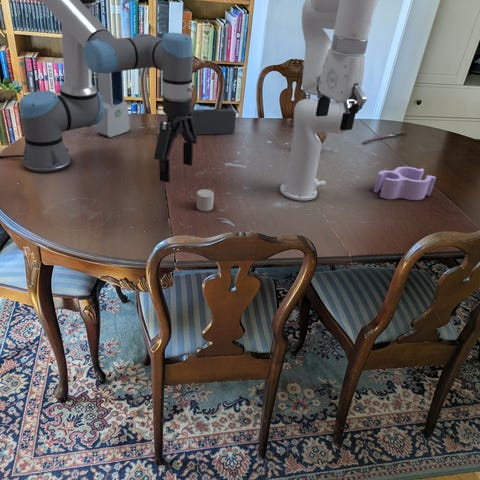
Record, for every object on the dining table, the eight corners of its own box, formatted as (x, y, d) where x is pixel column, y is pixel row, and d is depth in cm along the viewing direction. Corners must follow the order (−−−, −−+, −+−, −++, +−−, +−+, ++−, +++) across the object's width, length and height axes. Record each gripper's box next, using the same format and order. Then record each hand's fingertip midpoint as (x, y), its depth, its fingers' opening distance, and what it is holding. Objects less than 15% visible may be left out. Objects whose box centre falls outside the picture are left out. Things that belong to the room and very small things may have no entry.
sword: (401, 132, 223) (402, 129, 222) (407, 134, 221) (407, 131, 220) (358, 143, 207) (358, 140, 206) (363, 145, 205) (364, 143, 204)
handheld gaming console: (232, 131, 203) (234, 108, 197) (234, 133, 201) (236, 110, 195) (181, 132, 196) (181, 109, 190) (182, 135, 194) (183, 111, 188)
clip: (387, 202, 158) (392, 184, 155) (367, 186, 168) (372, 168, 164) (434, 198, 165) (441, 180, 161) (413, 182, 174) (419, 165, 171)
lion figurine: (320, 147, 197) (324, 126, 192) (326, 152, 192) (331, 131, 188) (289, 148, 192) (292, 127, 187) (294, 153, 188) (298, 132, 183)
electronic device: (108, 138, 183) (103, 58, 167) (94, 133, 186) (88, 54, 170) (130, 130, 192) (127, 54, 176) (117, 126, 195) (113, 50, 179)
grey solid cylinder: (209, 202, 148) (210, 188, 145) (215, 209, 144) (216, 195, 141) (194, 204, 145) (194, 190, 143) (200, 212, 142) (200, 197, 139)
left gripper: (165, 112, 111) (166, 192, 123) (210, 90, 131) (207, 160, 142) (138, 106, 113) (141, 185, 125) (186, 85, 133) (185, 155, 145)
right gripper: (312, 37, 106) (300, 111, 115) (360, 55, 93) (342, 137, 103) (338, 38, 109) (324, 110, 118) (388, 55, 96) (369, 134, 106)
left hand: (176, 172), depth 134 cm, fingers open, 13 cm apart
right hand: (333, 122), depth 110 cm, fingers open, 9 cm apart
